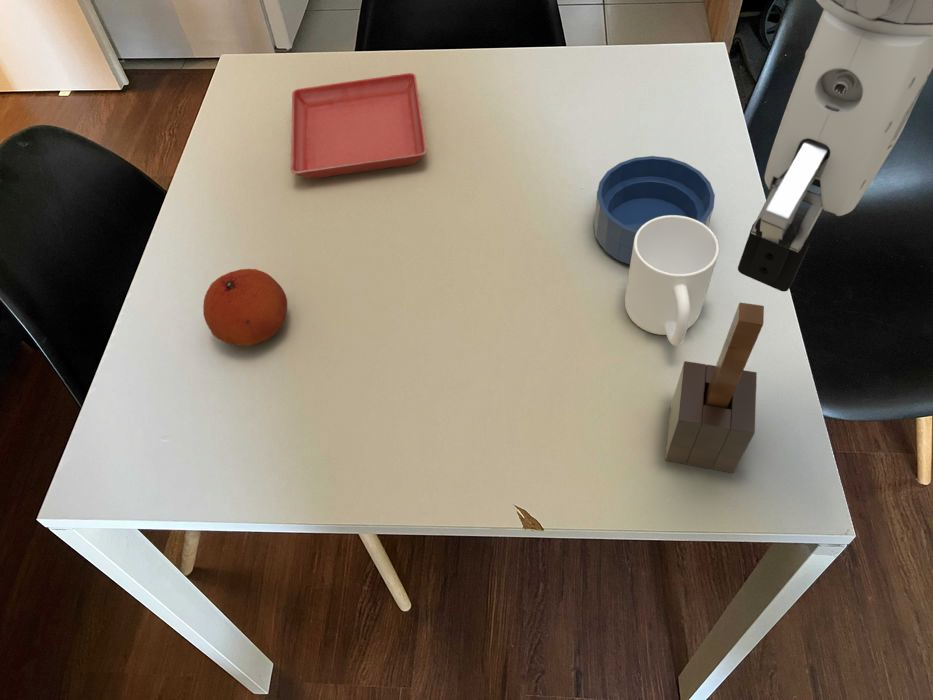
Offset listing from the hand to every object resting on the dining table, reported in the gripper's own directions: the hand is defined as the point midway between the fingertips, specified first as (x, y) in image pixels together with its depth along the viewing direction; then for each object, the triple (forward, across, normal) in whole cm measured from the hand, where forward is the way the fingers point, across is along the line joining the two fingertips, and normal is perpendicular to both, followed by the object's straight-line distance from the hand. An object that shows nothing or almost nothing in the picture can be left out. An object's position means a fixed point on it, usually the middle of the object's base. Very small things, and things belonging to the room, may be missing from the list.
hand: (795, 230), depth 46 cm
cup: (+30, +11, +10) cm, 34 cm away
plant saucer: (+30, +17, +60) cm, 69 cm away
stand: (+30, 0, +1) cm, 30 cm away
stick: (+30, 0, +1) cm, 30 cm away
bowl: (+30, +22, +18) cm, 41 cm away
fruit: (+30, -15, +48) cm, 59 cm away
